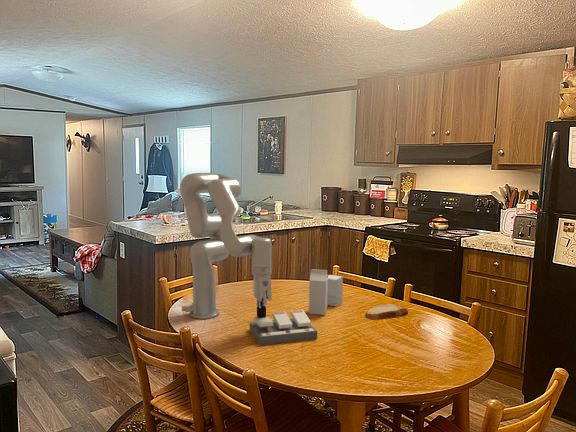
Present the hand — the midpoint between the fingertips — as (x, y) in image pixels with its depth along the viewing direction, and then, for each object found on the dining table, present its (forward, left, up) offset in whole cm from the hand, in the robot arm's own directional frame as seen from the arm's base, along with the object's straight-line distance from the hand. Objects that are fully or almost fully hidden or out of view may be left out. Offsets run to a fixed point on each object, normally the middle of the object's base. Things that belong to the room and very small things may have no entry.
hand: (261, 316), depth 187 cm
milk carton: (+30, +17, -6) cm, 35 cm away
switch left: (0, -3, -1) cm, 3 cm away
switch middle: (+7, -3, -1) cm, 8 cm away
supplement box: (+41, +27, -6) cm, 50 cm away
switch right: (+15, -3, -1) cm, 15 cm away
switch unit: (+7, -4, -6) cm, 10 cm away
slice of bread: (+58, +6, -7) cm, 59 cm away
